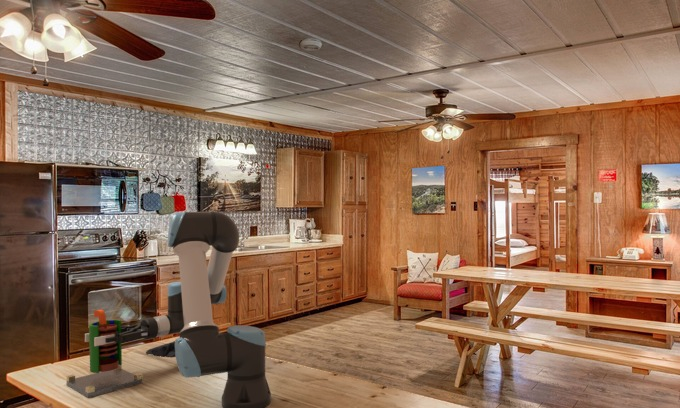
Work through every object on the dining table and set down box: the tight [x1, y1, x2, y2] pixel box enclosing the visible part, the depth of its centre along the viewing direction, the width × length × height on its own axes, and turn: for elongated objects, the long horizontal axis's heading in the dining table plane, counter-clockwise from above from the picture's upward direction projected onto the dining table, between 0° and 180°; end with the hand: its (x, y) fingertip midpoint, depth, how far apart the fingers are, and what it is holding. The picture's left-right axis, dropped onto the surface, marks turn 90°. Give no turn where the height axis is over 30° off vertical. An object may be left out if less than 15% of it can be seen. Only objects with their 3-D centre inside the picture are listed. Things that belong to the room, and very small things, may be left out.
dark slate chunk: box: [145, 340, 176, 358], centre depth 209 cm, size 15×22×5 cm
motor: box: [88, 309, 123, 374], centre depth 168 cm, size 10×9×20 cm
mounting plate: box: [66, 364, 143, 399], centre depth 167 cm, size 18×18×3 cm
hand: (90, 339), depth 164 cm, fingers closed on motor, 7 cm apart
